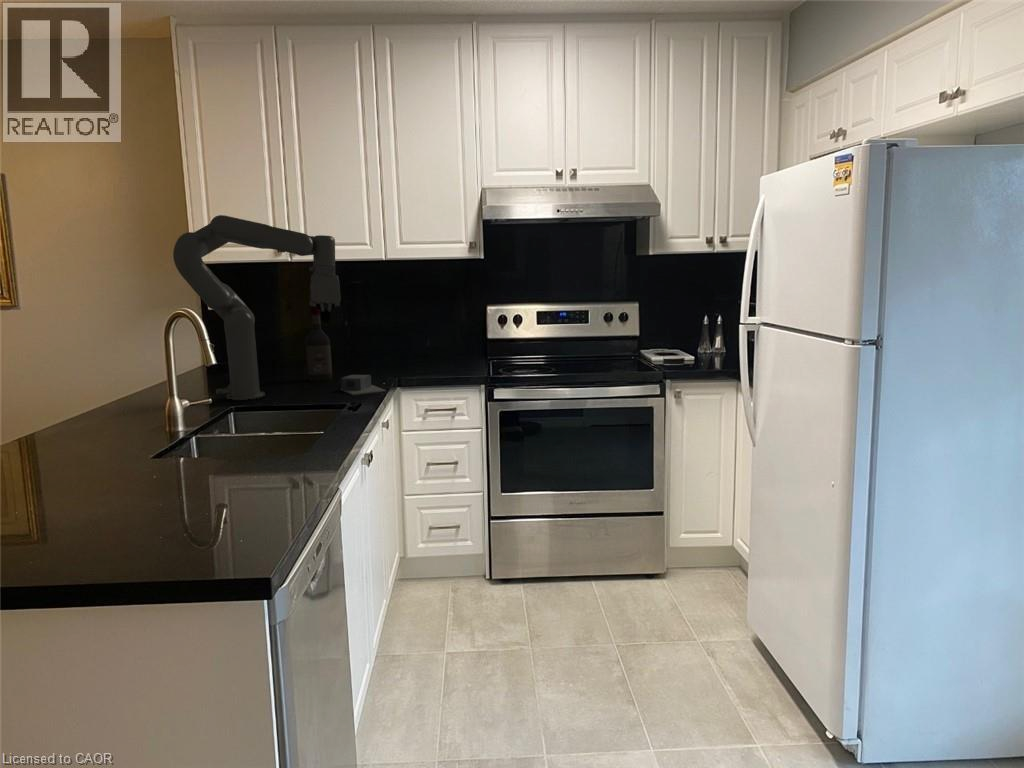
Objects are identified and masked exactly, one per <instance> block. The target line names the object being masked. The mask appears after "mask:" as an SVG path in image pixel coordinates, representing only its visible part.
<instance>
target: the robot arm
mask: <svg viewBox="0 0 1024 768" xmlns="http://www.w3.org/2000/svg"><path fill="white" fill-rule="evenodd" d="M228 243H232V244H237V245H241V246H246V247H247V246H248V247H250V248H251V247H252V248H255V249H260V250H262V249H263V250H274V251H280V252H285V253H289V254H293V255H297V256H300V257H305V256H312V257H313V258H312V259H313V266H311V267H310V266H309V271H310V272H312V273H313V274H311V277H310V283H309V285H310V286H309V306H310V307H311V306H314V307H317V308H318V309H319V311H320V321H321V323H323V324H327V323H329V322H330V321H331V312H332V310H333V309H334V308H336V307H340V306H341V299H342V298H341V288H340V286H341V285H340V279H339V275H337V274H336V239H335V237H334V236H332V235H322V234H317V235H315V236H313V235H308V234H306V233H303V232H299V231H295V230H291V229H285V228H281V227H276V226H271V225H268V224H265V223H260V222H256V221H252V220H247V219H243V218H237V217H234V216H229V215H223V214H222V215H220V214H219V215H216V216H214V217H213V218H212V219H211V221H210V222H209V223H208V224H206V225H205V226H203V227H201V228H199V229H198V230H195V231H192V232H191V231H188V232H184V233H182V234H180V235H179V236H178V239H177V240H176V242H175V243H174V244H175V245H174V248H173V251H172V252H173V253H172V254H173V255H172V256H173V263H174V266H175V267H176V269H177V271H178V273H179V274H180V276H181V277H182V278H183V279H184V280H185V282H186V283H187V284H188V286H190V287H191V288H192V290H193V291H194V292H195V293H196V294H197V296H198V297H199V298H200V299H201V300H202V301H203V302H204V304H205V305H206V306H207V307H208V308H209V309H211V310H213V311H214V312H215V313H216V314H217V315H218V316H219V317H220V318H221V319H222V320H223V327H224V328H223V329H224V334H225V341H226V343H225V344H226V354H227V362H228V363H227V364H228V374H229V375H228V376H229V384H228V386H225V387H224V388H217V389H216V391H215V392H216V395H226V399H227V400H229V399H232V400H231V401H249V400H248V399H250V400H257V399H261V398H263V396H264V397H265V396H266V393H265V392H264V391H261V389H260V379H259V366H258V365H259V364H258V351H257V344H256V343H257V342H256V331H255V323H256V318H255V315H254V313H253V311H252V310H251V309H250V308H249V307H248V306H247V305H246V303H245V302H244V301H243V300H242V299H241V298H240V297H239V296H238V294H237V293H236V292H235V291H234V290H233V289H232V288H231V286H229V285H228V284H226V283H224V282H222V281H221V280H220V279H219V278H218V277H217V276H216V275H215V274H214V273H213V271H212V270H211V269H210V267H208V266H207V265H206V263H205V262H204V260H203V257H205V256H207V255H209V254H211V253H212V252H214V251H216V250H217V249H219V248H221V247H223V246H225V245H227V244H228ZM324 304H326V305H324ZM260 397H261V398H260ZM256 398H257V399H256Z"/></svg>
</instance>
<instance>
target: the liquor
mask: <svg viewBox="0 0 1024 768" xmlns="http://www.w3.org/2000/svg"><path fill="white" fill-rule="evenodd" d="M310 314H311V325H312V326H311V330H310V332H309V333H308V334H307V336H306V337H305V340H304V342H305V344H304V345H305V356H306V358H305V359H306V370H307V373H306V374H307V378H308V381H309V382H312V383H313V382H314V383H316V382H328V381H332V379H333V369H332V368H333V365H332V354H331V353H332V351H331V339H330V337H329V336H328V335H327V333H326V332H324V331H323V329H322V325H321V318H320V311H319V309H318V308H317V307H314V306H310Z"/></svg>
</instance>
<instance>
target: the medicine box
mask: <svg viewBox="0 0 1024 768" xmlns="http://www.w3.org/2000/svg"><path fill="white" fill-rule="evenodd" d="M340 379H341V380H340V381H341V389H342V390H363V389H365V388H368V387H370V386H371V385H372V376H371V374H350V375H345V376H344V377H340ZM342 390H341V391H342Z"/></svg>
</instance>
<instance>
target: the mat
mask: <svg viewBox="0 0 1024 768" xmlns="http://www.w3.org/2000/svg"><path fill="white" fill-rule="evenodd" d="M340 391H341V392H344V393H346V392H347V393H346V394H349V395H351V396H360V395H369V394H370V395H371V394H377V393H378V394H379V393H385V392H386V393H387V390H386V389H384V388H381V387H380V386H379V387H378V386H376V385H374V384H371V386H370V387H368V388H365V389H363V390H342V388H340Z"/></svg>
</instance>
